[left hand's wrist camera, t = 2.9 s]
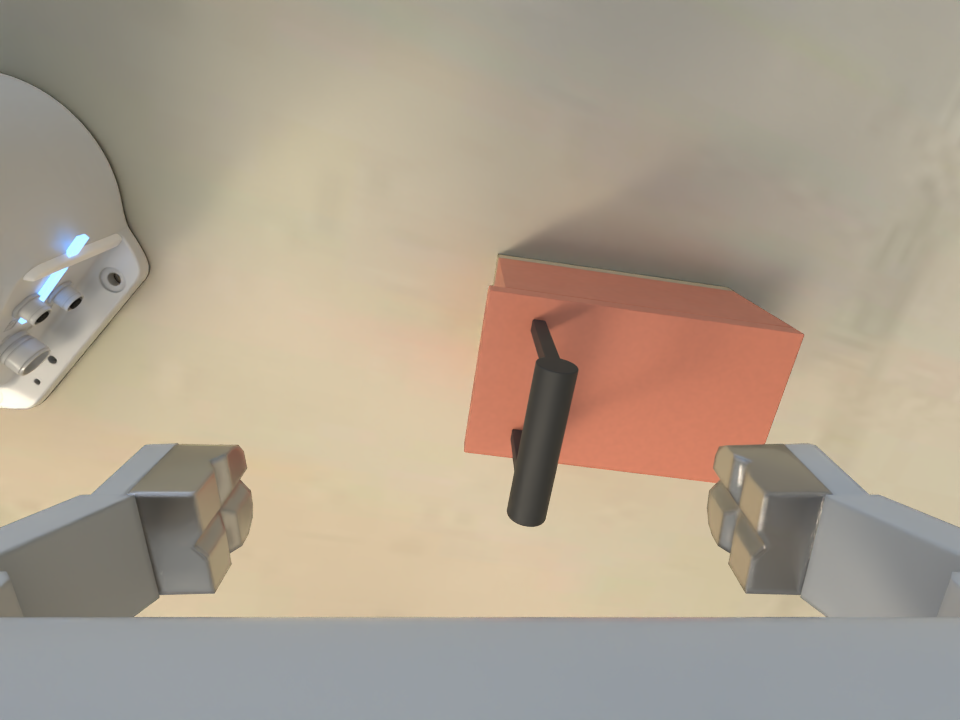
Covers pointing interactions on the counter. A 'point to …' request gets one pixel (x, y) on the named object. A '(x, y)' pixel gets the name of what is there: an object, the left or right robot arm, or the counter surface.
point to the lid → (617, 389)
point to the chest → (628, 289)
